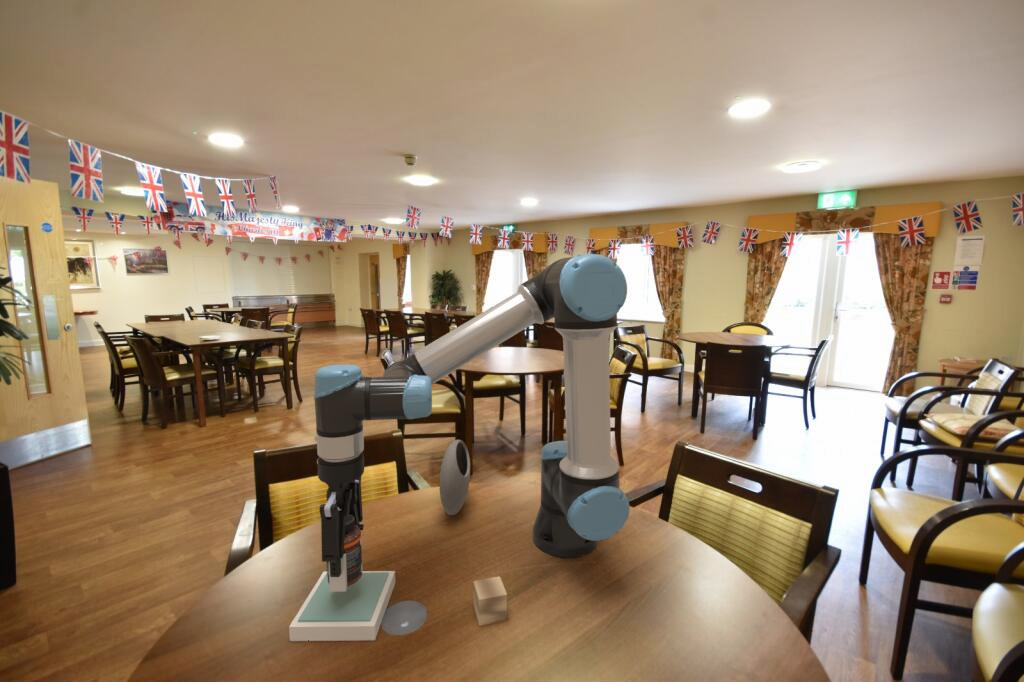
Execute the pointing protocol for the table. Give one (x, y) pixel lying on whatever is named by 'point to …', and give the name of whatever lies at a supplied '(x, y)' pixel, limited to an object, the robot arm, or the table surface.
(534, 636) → the table surface
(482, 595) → the oak block
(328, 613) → the podium
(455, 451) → the grey hollow oval piece
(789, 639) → the table surface
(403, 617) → the coaster
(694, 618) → the table surface
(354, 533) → the supplement bottle
